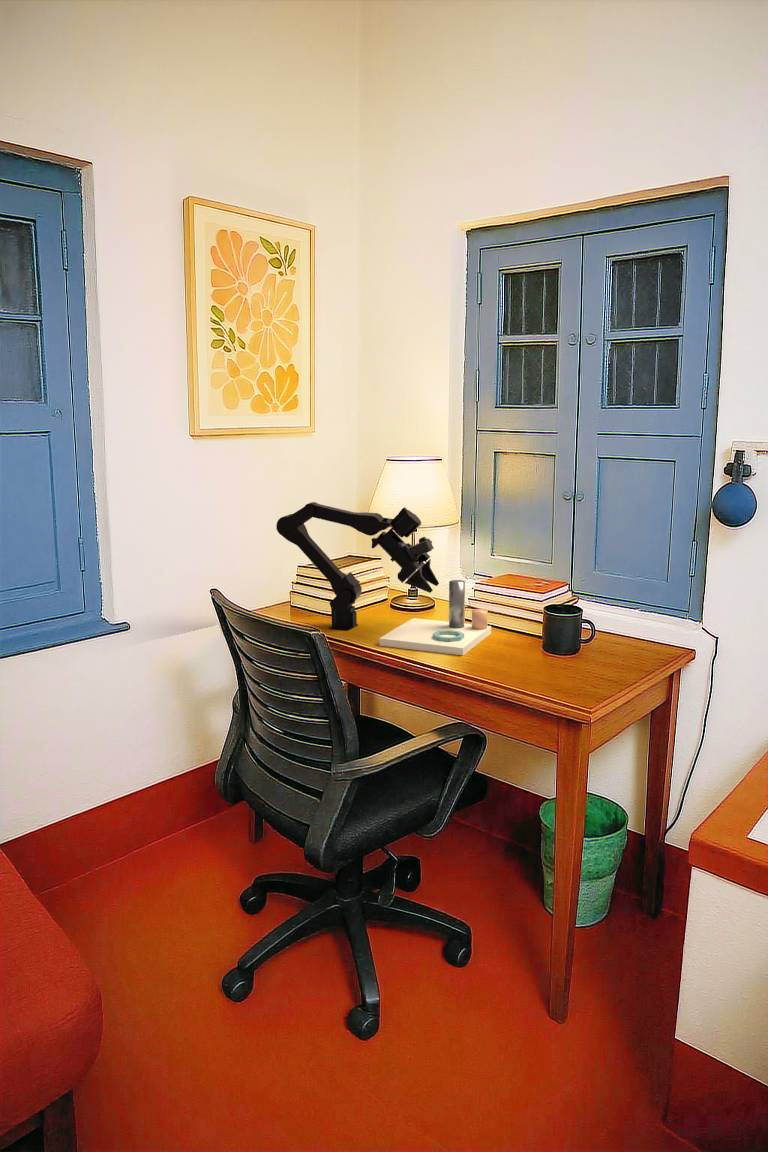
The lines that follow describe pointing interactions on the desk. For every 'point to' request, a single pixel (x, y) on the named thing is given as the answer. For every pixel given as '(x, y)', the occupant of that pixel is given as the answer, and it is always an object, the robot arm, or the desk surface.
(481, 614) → the peach rounded cylinder
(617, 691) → the desk surface
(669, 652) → the desk surface
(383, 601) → the desk surface
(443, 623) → the board
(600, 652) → the desk surface
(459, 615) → the shiny metal cylinder
